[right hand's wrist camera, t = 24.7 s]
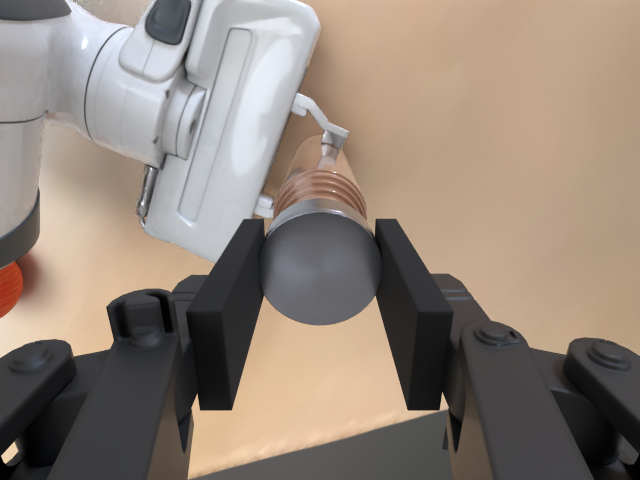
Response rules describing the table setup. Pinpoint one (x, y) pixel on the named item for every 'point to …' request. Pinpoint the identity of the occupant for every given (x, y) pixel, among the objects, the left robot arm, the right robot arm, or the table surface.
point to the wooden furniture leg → (319, 178)
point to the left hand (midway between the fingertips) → (330, 176)
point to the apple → (10, 287)
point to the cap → (319, 262)
